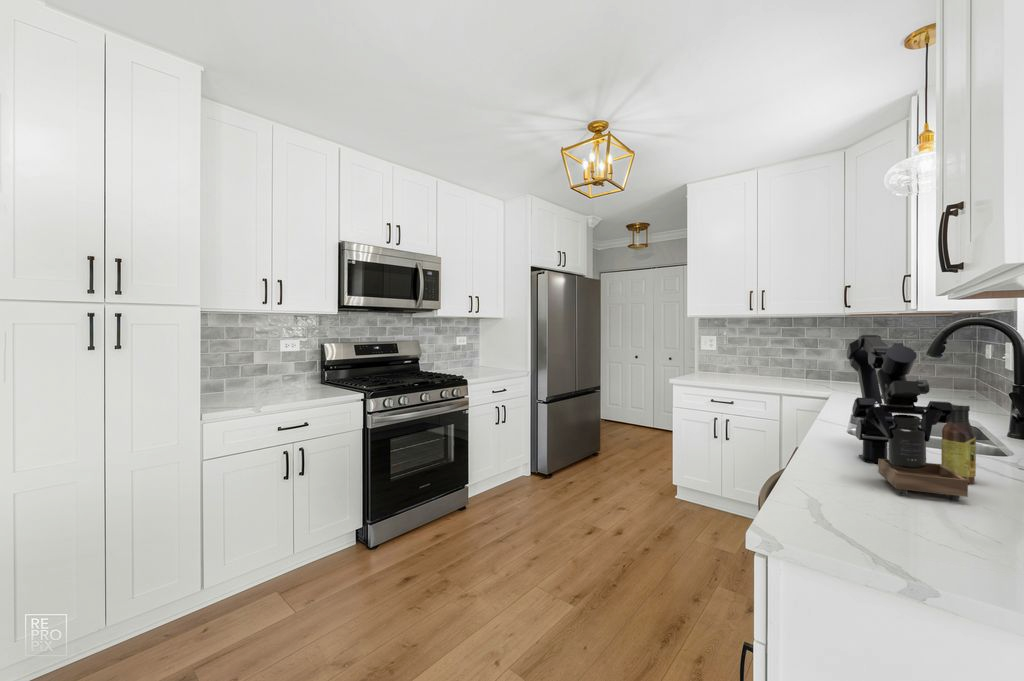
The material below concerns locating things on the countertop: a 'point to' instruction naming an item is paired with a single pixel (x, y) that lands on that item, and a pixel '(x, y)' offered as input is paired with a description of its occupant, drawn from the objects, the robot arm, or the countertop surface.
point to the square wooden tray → (924, 479)
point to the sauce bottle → (959, 444)
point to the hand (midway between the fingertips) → (908, 439)
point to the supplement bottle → (907, 442)
